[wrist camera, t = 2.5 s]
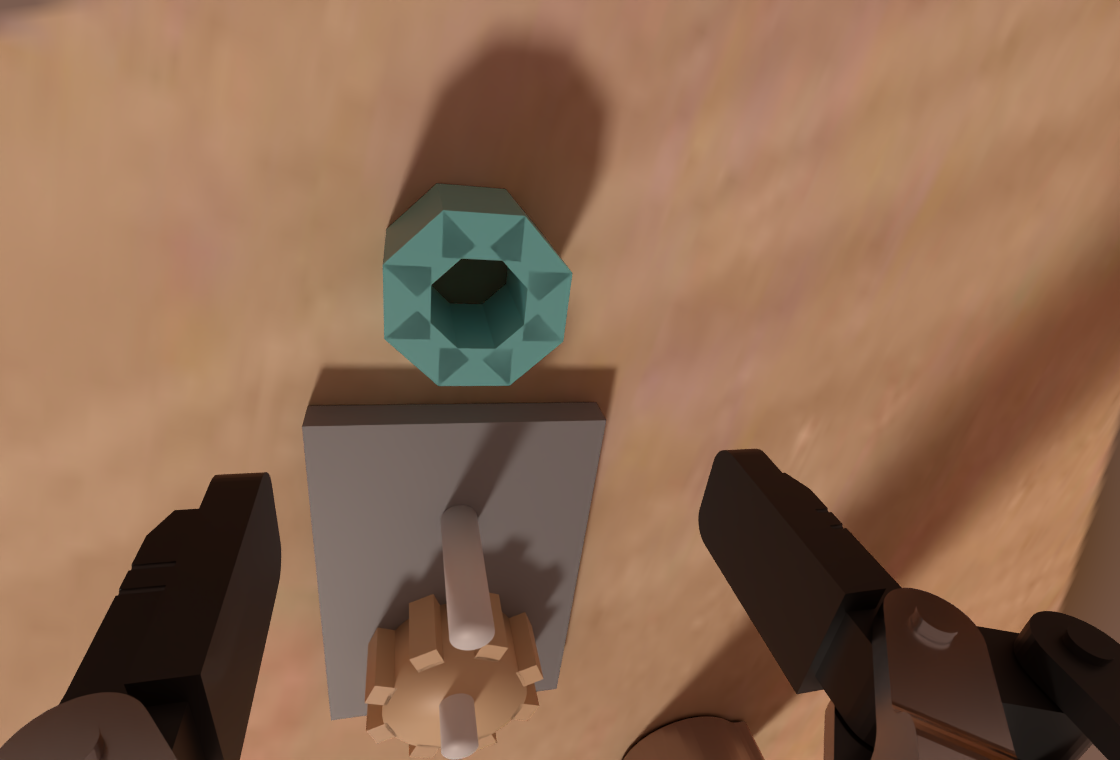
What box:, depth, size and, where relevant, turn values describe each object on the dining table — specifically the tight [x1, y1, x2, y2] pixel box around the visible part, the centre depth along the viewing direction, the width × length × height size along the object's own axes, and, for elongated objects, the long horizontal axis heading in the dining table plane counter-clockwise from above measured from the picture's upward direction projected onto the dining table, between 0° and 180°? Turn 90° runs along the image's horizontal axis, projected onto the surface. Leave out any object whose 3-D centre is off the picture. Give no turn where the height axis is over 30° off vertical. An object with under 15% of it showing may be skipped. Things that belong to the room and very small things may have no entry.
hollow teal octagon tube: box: [383, 183, 572, 386], centre depth 20 cm, size 6×6×4 cm
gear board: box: [302, 402, 606, 759], centre depth 26 cm, size 12×18×8 cm, turn 172°
